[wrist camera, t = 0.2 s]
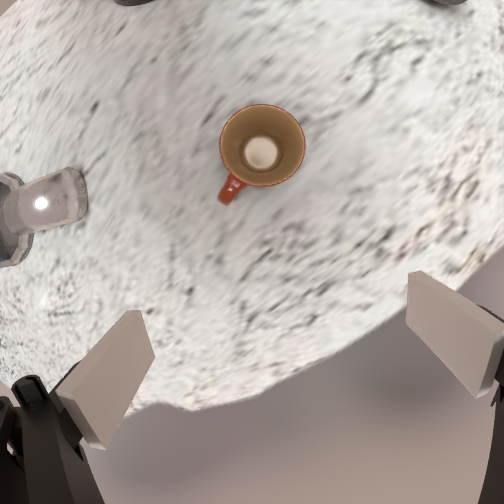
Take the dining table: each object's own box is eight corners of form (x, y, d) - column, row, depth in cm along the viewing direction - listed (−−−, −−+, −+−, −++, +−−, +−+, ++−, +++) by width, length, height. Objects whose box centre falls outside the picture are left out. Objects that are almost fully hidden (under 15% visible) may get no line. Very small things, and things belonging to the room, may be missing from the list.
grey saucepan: (-7, 269, 43) (-31, 280, 35) (-20, 187, 39) (-46, 190, 31) (97, 248, 41) (69, 261, 33) (80, 138, 37) (51, 132, 29)
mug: (253, 112, 37) (252, 88, 27) (305, 148, 38) (321, 136, 28) (202, 181, 39) (184, 180, 29) (254, 218, 40) (253, 229, 30)
